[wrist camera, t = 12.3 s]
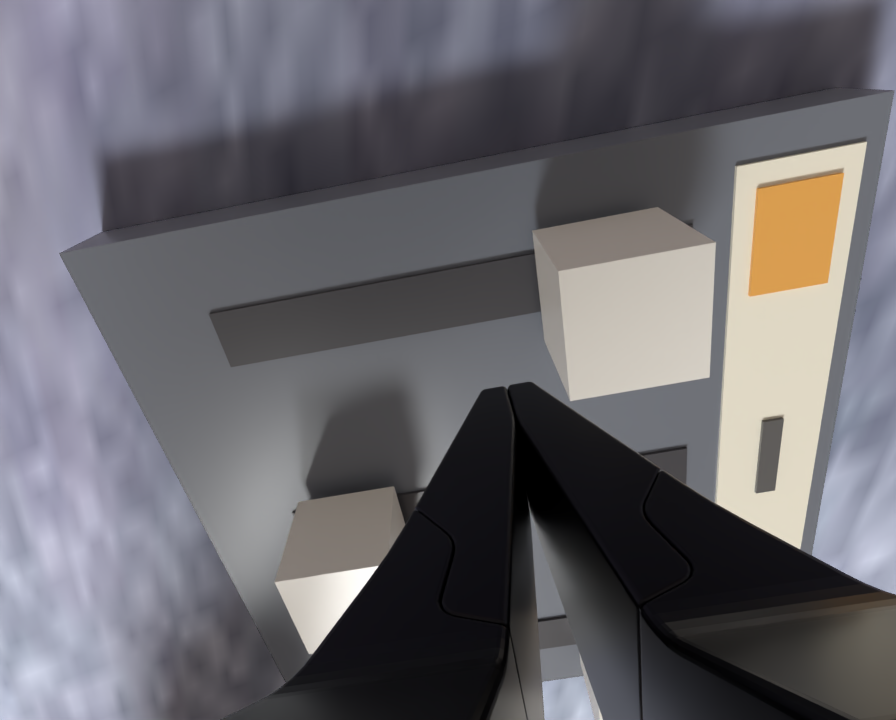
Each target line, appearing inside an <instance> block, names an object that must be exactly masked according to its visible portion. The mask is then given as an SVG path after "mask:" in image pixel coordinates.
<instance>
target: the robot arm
mask: <svg viewBox="0 0 896 720" xmlns="http://www.w3.org/2000/svg"><path fill="white" fill-rule="evenodd" d="M507 390H508V391H507ZM528 503H529V504H528ZM529 508H530V511H529ZM530 512H531V516H532V519H533V522H534V525H535V528H536V531H537V534H538V537H539V540H540V542H541V545H542V548H543V551H544V554H545V557H546V559H547V562H548V565H549V568H550V571H551V573H552V576H553V579H554V582H555V585H556V588H557V590H558V593H559V596H560V599H561V602H562V605H563V607H564V610H565V613H566V616H567V619H568V622H569V624H570V627H571V630H572V633H573V636H574V639H575V641H576V644H577V647H578V650H579V653H580V656H581V658H582V661H583V664H584V667H585V670H586V673H587V675H588V678H589V681H590V684H591V687H592V689H593V692H594V695H595V698H596V701H597V704H598V706H599V709H600V712H601V715H602V718H603V720H896V595H895V594H892V593H888V592H885V591H883V590H880V589H878V588H875V587H873V586H870V585H868V584H865V583H863V582H861V581H859V580H857V579H855V578H853V577H851V576H849V575H847V574H845V573H843V572H841V571H840V570H838V569H836V568H834V567H832V566H830V565H828V564H826V563H825V562H823V561H821V560H819V559H817V558H815V557H813V556H812V555H810V554H808V553H806V552H804V551H802V550H800V549H798V548H797V547H795V546H793V545H791V544H789V543H787V542H785V541H783V540H782V539H780V538H778V537H776V536H774V535H772V534H770V533H768V532H767V531H765V530H763V529H761V528H759V527H757V526H755V525H754V524H752V523H750V522H748V521H746V520H744V519H743V518H741V517H739V516H737V515H736V514H734V513H732V512H730V511H728V510H727V509H725V508H723V507H721V506H720V505H718V504H716V503H714V502H712V501H711V500H709V499H708V498H706V497H705V496H703V495H701V494H700V493H698V492H697V491H695V490H693V489H692V488H690V487H689V486H687V485H686V484H684V483H682V482H681V481H679V480H678V479H676V478H675V477H673V476H672V475H670V474H669V473H667V472H666V471H664V470H663V471H661V469H660V467H658V466H657V465H655V464H654V463H652V462H651V461H649V460H648V459H646V458H645V457H643V456H642V455H640V454H639V453H637V452H636V451H634V450H633V449H631V448H630V447H628V446H627V445H625V444H624V443H622V442H621V441H620V440H618V439H617V438H615V437H614V436H612V435H611V434H609V433H608V432H606V431H605V430H603V429H602V428H600V427H599V426H597V425H596V424H594V423H593V422H591V421H590V420H588V419H587V418H585V417H584V416H582V415H581V414H579V413H578V412H576V411H575V410H573V409H572V408H570V407H569V406H567V405H566V404H564V403H563V402H561V401H560V400H558V399H557V398H556V397H554V396H553V395H551V394H550V393H548V392H547V391H545V390H544V389H542V388H541V387H539V386H538V385H536V384H535V383H533V382H523V383H517V384H512V385H510V386H508V388H506V387H504V386H500V387H494V388H488V389H484V390H482V391H481V392H480V394H479V396H478V398H477V399H476V401H475V403H474V405H473V406H472V408H471V410H470V412H469V414H468V415H467V417H466V419H465V421H464V422H463V424H462V426H461V428H460V429H459V431H458V433H457V435H456V436H455V438H454V440H453V442H452V443H451V445H450V447H449V449H448V451H447V452H446V454H445V456H444V458H443V459H442V461H441V463H440V465H439V466H438V468H437V470H436V472H435V473H434V475H433V477H432V479H431V480H430V482H429V484H428V486H427V488H426V489H425V491H424V493H423V495H422V496H421V498H420V500H419V502H418V503H417V505H416V507H415V510H414V511H413V512H412V513H411V515H410V517H409V519H408V521H407V522H406V524H405V526H404V528H403V529H402V531H401V532H400V534H399V536H398V537H397V539H396V540H395V542H394V544H393V545H392V547H391V549H390V550H389V552H388V553H387V555H386V556H385V558H384V559H383V560H382V562H381V563H380V565H379V566H378V567H377V569H376V570H375V572H374V573H373V574H372V576H371V577H370V579H369V580H368V581H367V583H366V584H365V585H364V587H363V588H362V589H361V591H360V592H359V593H358V595H357V596H356V597H355V599H354V600H353V601H352V603H351V604H350V605H349V607H348V608H347V609H346V611H345V612H344V613H343V615H342V616H341V617H340V619H339V620H338V621H337V623H336V624H335V625H334V627H333V628H332V629H331V631H330V632H329V633H328V635H327V636H326V637H325V638H324V640H323V641H322V642H321V644H320V645H319V646H318V648H317V649H316V650H315V652H314V653H313V654H312V656H311V657H310V658H309V659H308V660H307V662H306V663H305V664H304V665H303V667H302V668H301V669H300V670H299V671H298V672H297V673H296V674H295V675H294V676H293V677H292V678H291V679H290V680H289V681H288V682H286V683H285V684H284V685H283V686H282V687H281V688H279V689H278V690H277V691H275V692H274V693H272V694H271V695H269V696H268V697H266V698H264V699H262V700H260V701H258V702H256V703H254V704H252V705H250V706H248V707H246V708H244V709H242V710H240V711H238V712H235V713H233V714H231V715H229V716H227V717H225V718H223V719H221V720H544V706H543V691H542V677H541V662H540V647H539V632H538V617H537V603H536V588H535V573H534V558H533V544H532V529H531V519H530Z"/></svg>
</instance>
